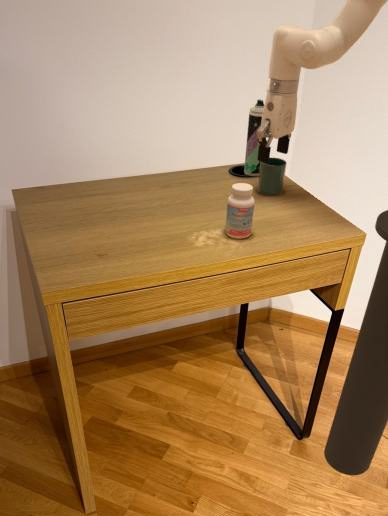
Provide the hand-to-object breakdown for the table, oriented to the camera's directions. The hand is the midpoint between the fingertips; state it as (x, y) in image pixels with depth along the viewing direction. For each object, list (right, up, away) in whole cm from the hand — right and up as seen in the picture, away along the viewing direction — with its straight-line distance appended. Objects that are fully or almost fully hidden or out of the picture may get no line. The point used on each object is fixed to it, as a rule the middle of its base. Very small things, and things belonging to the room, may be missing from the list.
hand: (272, 157), depth 131 cm
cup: (0, -7, +6) cm, 9 cm away
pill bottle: (-11, -24, -15) cm, 31 cm away
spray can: (-3, +1, +16) cm, 17 cm away
